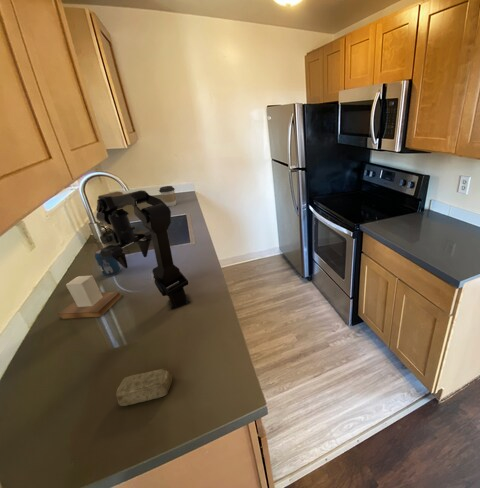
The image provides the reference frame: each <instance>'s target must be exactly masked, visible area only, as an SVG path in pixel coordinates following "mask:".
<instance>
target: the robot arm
mask: <svg viewBox="0 0 480 488" xmlns="http://www.w3.org/2000/svg"><path fill="white" fill-rule="evenodd" d="M144 203H146V204H148V205H150V206H147V207H143V208H141V209H140V207H138V205H141V204H144ZM126 206H132V207H133V213H134V216H135V217H136V218H138V220H139V221H141V223H142V225H143V226H144V227H145V228H146V229H147V230H139V231H137V232H134V231H135V229H136V227H135V226H132V224H131V222H130V219H129V216H128V215H129V214H130V213H129V212H128V211H127V210H124V209H123V208H124V207H126ZM95 210H96V211H97V212H96V216H95V218H96V219H97V221H98V222H100V223H102V224H105V225H110V226H111V227H112V229H111V231H110V234H107V233H105V234H102V235H100V236H99V240H100V241H101V243H102V244H103V245H107V244H108V245H107V246H105V247H103V249H102V248H100V249H101V251H100V253H101V255H102V257H112V258H114V259H115V260H117V262H118V264H119V265H120V266H122V267H123V268H124V269H128V267H129V266H128V261H127V258H126V253H125V252H124V249H125V248H127V247H129V246H131V245H133V244H135V243H136V244H137V245H138V247H139V249H140V251H141V254H142V256H143V258H147V257H148V253H149V247H150V244H151V241H152V246H153V251H154V254H155V255H154V256H155V260H156V264H157V266H156V267H154V268H152V274H153V279H154V284H155V286H156V288H157V289H158V291H159V293H160V294H161V296H162V297H168V303H169V306H170V309H171V310H174V309H177V308H180V307H182V306H184V305H187V304H190V303H191V301H190V299H189V297H188V295H187V293H186V291H185V288H184V287H186V286H189V280H188V279H187V278H186V276H185V275H184V274H183V273H182V272H181V271H180V268H179V267H178V266H176V265H175V264H174V260H173V254H172V248H171V244H170V237H169V232H168V230H169V228H170V225H171V223H172V211H171V209H170V206H167V205H166V204H165V202H164V200H162V199H160V198H159V197H156V196H153V195H151V194H149V193H148V192H147V191H146V190H135V191H132V192H127V193H123V192H122V191H113V192H110V193H109V192H108V193H105V194H101V195H98V197H97V201H96V209H95ZM113 243H114V244H113ZM115 244H116V245H115Z"/></svg>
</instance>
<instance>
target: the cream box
mask: <svg viewBox="0 0 480 488" xmlns="http://www.w3.org/2000/svg"><path fill="white" fill-rule="evenodd" d="M65 286H66V288H67V290H68V292H69V293H70V295H71V297H72V299H73V302H74V301H75V303H76V304H77V306H78V307H86V306H93V305H95V304H96V303H97V302H98V301H99V300H100V299H101V298H103V296H102V294H101V293H102V292H101V290H100V288H99V286H98V284H97V282H96V280H95V278H94V275H79V276H76V277H75V278H73V279H72V280H70V281H68V282H67V283H66V284H65Z"/></svg>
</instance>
